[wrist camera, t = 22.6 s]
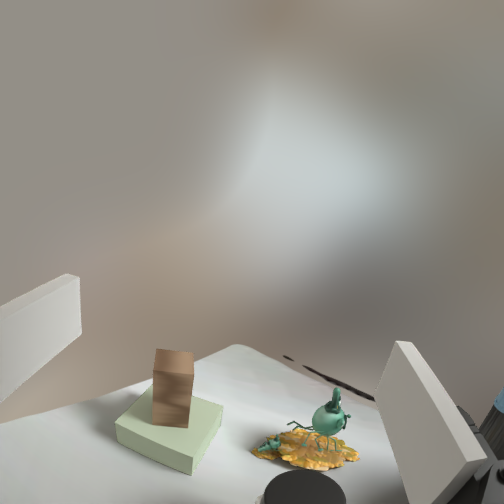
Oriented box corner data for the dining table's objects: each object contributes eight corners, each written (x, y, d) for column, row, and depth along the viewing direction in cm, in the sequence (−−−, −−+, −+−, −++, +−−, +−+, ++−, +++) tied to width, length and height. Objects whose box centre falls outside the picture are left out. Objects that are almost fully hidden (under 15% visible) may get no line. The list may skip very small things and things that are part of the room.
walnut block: (187, 405, 43) (193, 352, 41) (188, 428, 38) (194, 374, 36) (154, 402, 42) (156, 348, 40) (152, 424, 37) (153, 370, 35)
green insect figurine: (255, 423, 48) (283, 355, 44) (351, 445, 46) (391, 382, 43) (246, 463, 38) (279, 393, 35) (356, 484, 37) (406, 420, 34)
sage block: (219, 427, 46) (223, 406, 44) (191, 477, 34) (193, 457, 33) (155, 402, 48) (155, 381, 47) (117, 443, 37) (114, 422, 36)
